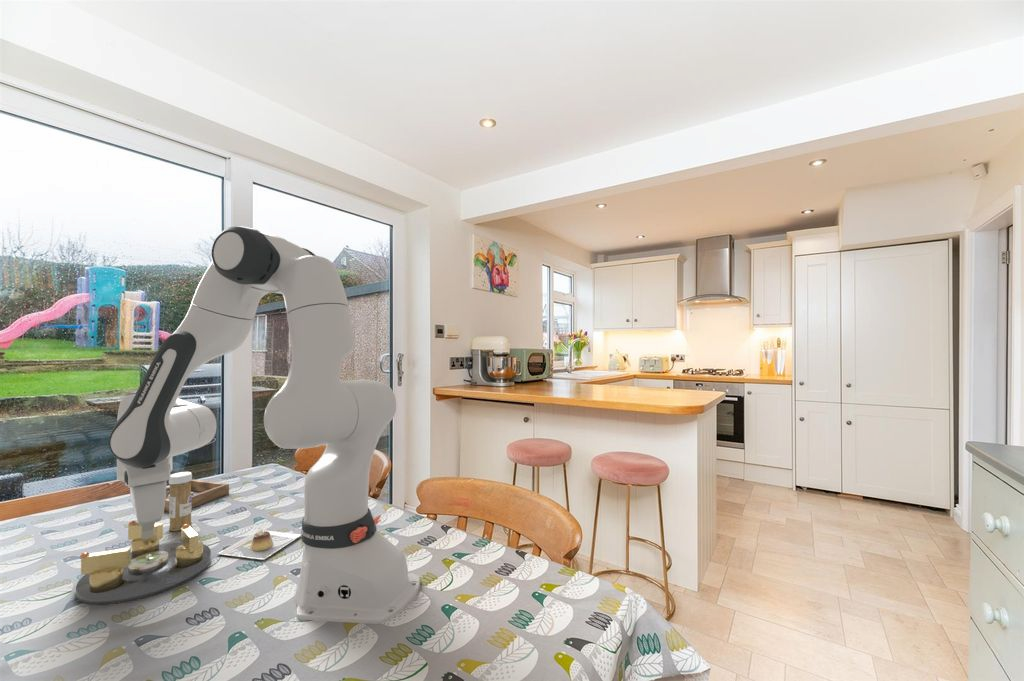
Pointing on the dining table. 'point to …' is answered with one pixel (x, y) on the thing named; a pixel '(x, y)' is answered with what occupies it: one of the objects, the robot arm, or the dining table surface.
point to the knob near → (189, 548)
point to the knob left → (105, 568)
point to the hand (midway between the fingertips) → (145, 532)
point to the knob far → (140, 544)
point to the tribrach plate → (146, 577)
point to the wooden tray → (203, 492)
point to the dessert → (260, 542)
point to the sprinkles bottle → (180, 500)
